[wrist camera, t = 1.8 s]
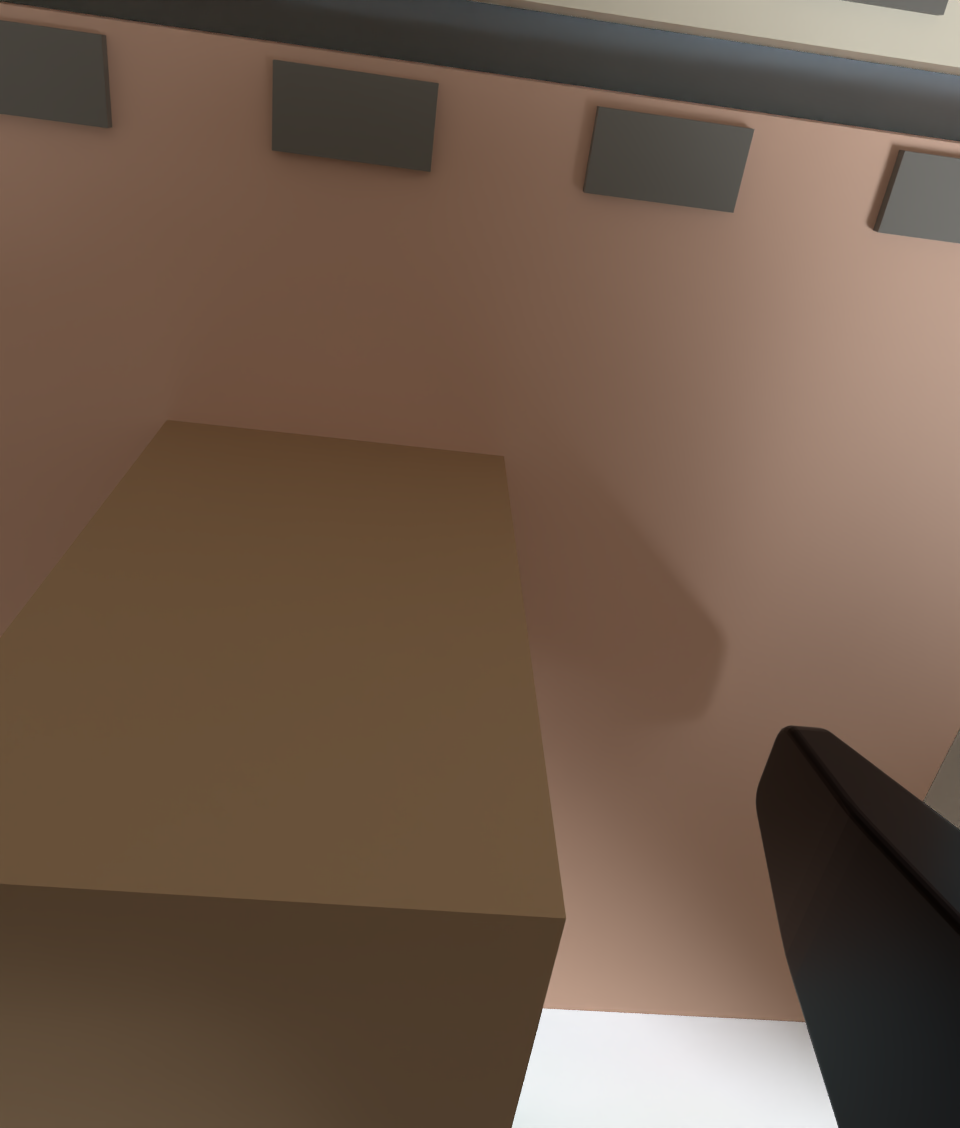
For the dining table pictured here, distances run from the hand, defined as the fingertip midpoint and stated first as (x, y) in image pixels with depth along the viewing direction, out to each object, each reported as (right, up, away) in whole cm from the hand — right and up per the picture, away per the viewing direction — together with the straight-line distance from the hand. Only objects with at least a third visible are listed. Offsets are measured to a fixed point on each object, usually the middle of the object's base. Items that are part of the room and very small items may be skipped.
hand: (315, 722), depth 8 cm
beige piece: (0, +1, +2) cm, 2 cm away
